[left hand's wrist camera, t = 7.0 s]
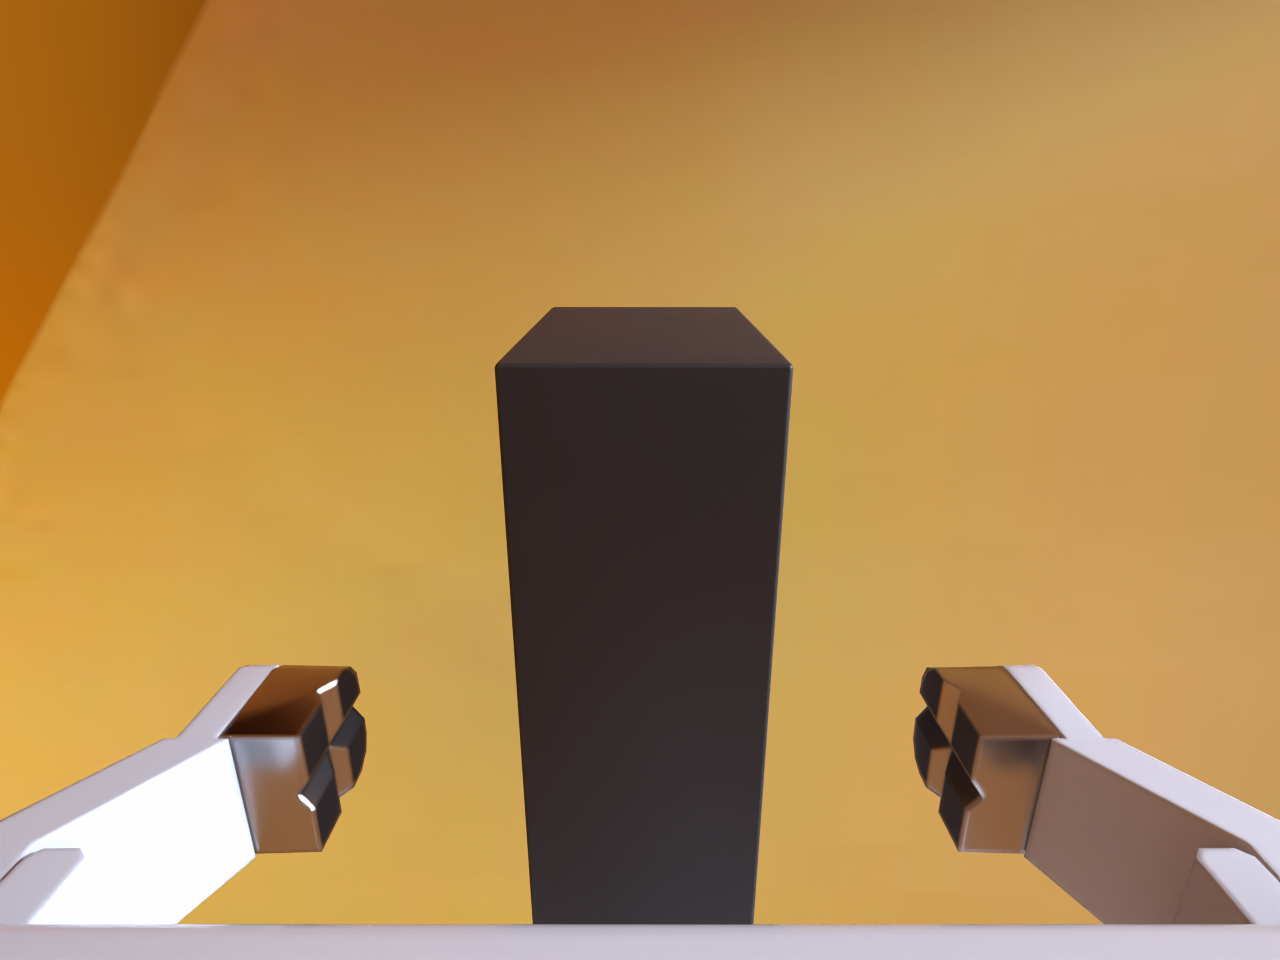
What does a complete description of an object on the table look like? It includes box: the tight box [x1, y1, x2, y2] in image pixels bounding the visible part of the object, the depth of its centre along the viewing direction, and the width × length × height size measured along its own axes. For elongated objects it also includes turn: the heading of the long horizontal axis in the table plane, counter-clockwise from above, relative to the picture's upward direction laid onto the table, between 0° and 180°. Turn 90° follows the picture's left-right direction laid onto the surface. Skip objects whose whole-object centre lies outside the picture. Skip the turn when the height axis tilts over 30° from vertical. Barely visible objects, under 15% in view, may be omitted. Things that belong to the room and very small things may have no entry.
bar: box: [495, 307, 793, 925], centre depth 21 cm, size 26×5×8 cm, turn 0°
